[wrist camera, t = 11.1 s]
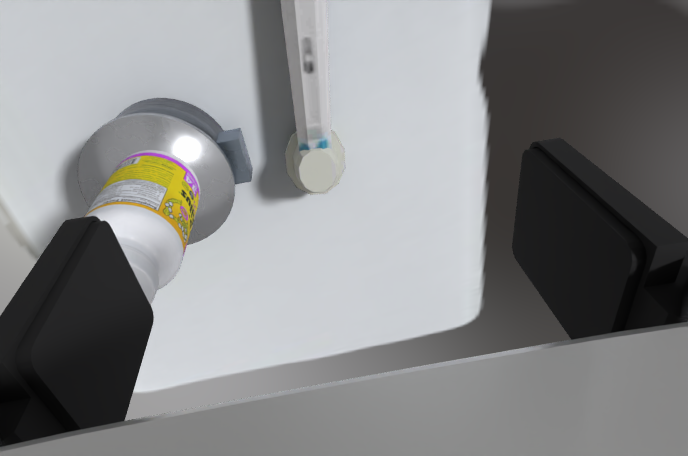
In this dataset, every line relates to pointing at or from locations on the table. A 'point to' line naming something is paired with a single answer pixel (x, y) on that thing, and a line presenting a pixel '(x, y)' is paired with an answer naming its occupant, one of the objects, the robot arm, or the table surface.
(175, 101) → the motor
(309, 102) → the light grey long piece
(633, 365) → the robot arm
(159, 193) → the supplement bottle
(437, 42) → the table surface
